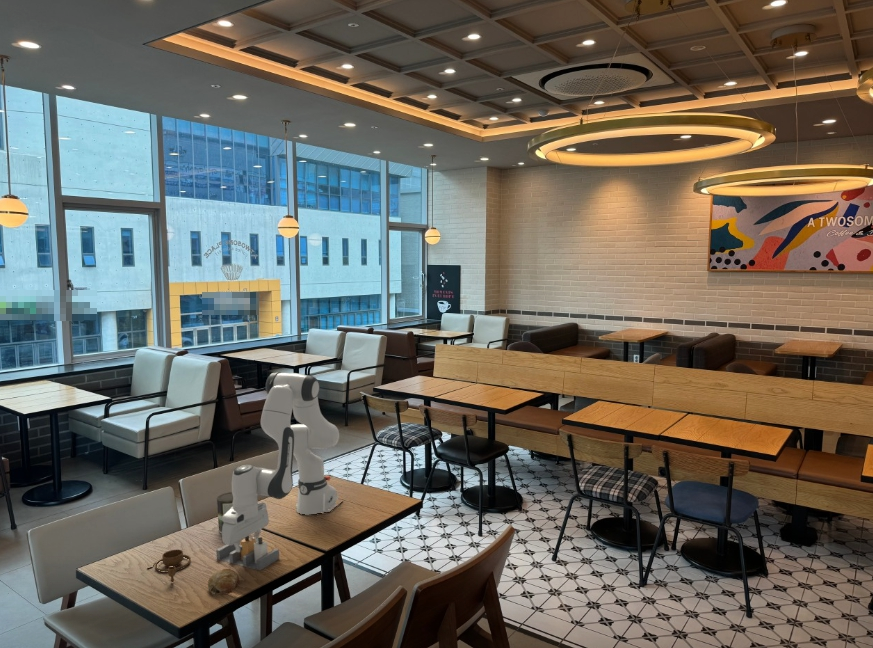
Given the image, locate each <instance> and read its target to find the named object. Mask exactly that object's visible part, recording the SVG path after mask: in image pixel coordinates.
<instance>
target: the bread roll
mask: <svg viewBox="0 0 873 648" xmlns="http://www.w3.org/2000/svg"><path fill="white" fill-rule="evenodd" d="M207 582H208V583H207V587H208V591H209V593H211V594H212V595H213V594H214V595H228V594H230V593H232V591H233V590H234V589H236V588H237V586H238V584H239V582H240V577H239V575H238V573H237V572H236V571H234V570H232V569H231V568H223V569H222V570H219V571H216V572H214V573H212V574H211V575H210V577H209V579H208V581H207Z"/></svg>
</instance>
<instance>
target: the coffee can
mask: <svg viewBox="0 0 873 648" xmlns="http://www.w3.org/2000/svg"><path fill="white" fill-rule="evenodd" d="M216 503H217V518H218V519H217V520H218V533H219V534H221V535H222V526H223V524H224V523H225V522H223V521H222V517H223V515H224V514H226V513H227V512H228V511H229V510H230V508H231V507H233V494H232V491H231V492H224V493H222V494H220V495H218V496H217V497H216Z"/></svg>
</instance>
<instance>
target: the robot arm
mask: <svg viewBox="0 0 873 648" xmlns="http://www.w3.org/2000/svg"><path fill="white" fill-rule="evenodd" d="M265 381H266V382H265V391H266V393H267V395H266V399H265V402H264V405H263V408H262V411H261V412H262V413H261V416H260V417H261V418H260V427H261V429H262V431H263V432H264V433H265V434H266V435H268V436H269V437H270V438H272V439H273V440H274V441H275V442H276V444H277V446H278V452H277V453H278V455H277V466H276V469H270V468H266V467H256V466H254V465H253V464H242V465H239V466H237V467H236V468H235V469H233V471H232V477H231V492H232V494H233V507H231V508H230V510H229V511H228V512H227V513H226V514H224V515H223V517H222V521H223V522H225V523H224V524H223V526H222V534H221V536H222V537H221V539H222V543H223V544H225V545H226V544H227V545H233V544H234V546H235V547H236V552H240V551H242V546H241V541H242V540H244V539H245V537H247V536H249V537H250V536H251V535H253V537H252V538H251V539H253V540H254V544H255V543H257V542H258V538H260V535H261V530H262V529H264V528H266V527H267V526H269V523H270V519H269V513H268V509H267V504H266V503H265V502H264V501H261V502H259V500H258V496H266V497H270V498H273V499H276V500H282V499H284V498H285V497H286V496H288V495H289V494H290V492H291V491H292V488H293V483H294V480H293V465H294V464H293V463H294V459H296V463H297V468H298V469H297V470H298V480H297V482H298V483H297V485H298V486H297V487H298V490H297V500H296V504H295V508H296V512H297V513H298V514H299V513H300V515H302V514H305V515H304V516H310V515H309V514H316V513H321V512H329V511H331V510H332V509H333V508H334V507H335V506H336V505H337V504H336V503H335V502H336V500H338V497H339V496H338V491H337V489H336V488H335V487H333V486H332V485H330V484H328V482H327V481H330V480H331V476H330V475H325V464H324V463H325V462H324V461H323V458H321V457H320V456H319V455H317V454H314V453H313V451H311V449H317V450H318V449H319V450H320V449H328V448H334V447H335V446H336V445H337V444H338V442H339V441H340V431H339V428H338V427H337V426H336V425H335V424H333V423H331V422H329V421H328V419H326V418H325V417H324V415H323V414H322V411H321V409H320V405H319V398H318V395H319V391H320V382H319V380H318V379H317V377H316V376H313V375H308V374H307V375H306V374H302V373H296V372H281V371H277V372H272V373H271V374H269V376H267V379H266V380H265ZM292 413H293V417H294V419H295V420H296V422H298V423H296V424H292V423H291V418H292ZM328 509H330V510H328ZM332 511H333V510H332ZM332 511H331V512H332ZM239 543H240V545H239Z"/></svg>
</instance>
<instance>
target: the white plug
mask: <svg viewBox="0 0 873 648" xmlns="http://www.w3.org/2000/svg"><path fill="white" fill-rule="evenodd" d="M267 553H269V552H268V542H265V541H263V537H262V536H261V537H260V536H259V537H258V542H256V543H254V556H255V563H257V562H256V560H257V559H259V558H261V557H262V556H264V555H266V554H267Z"/></svg>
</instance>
